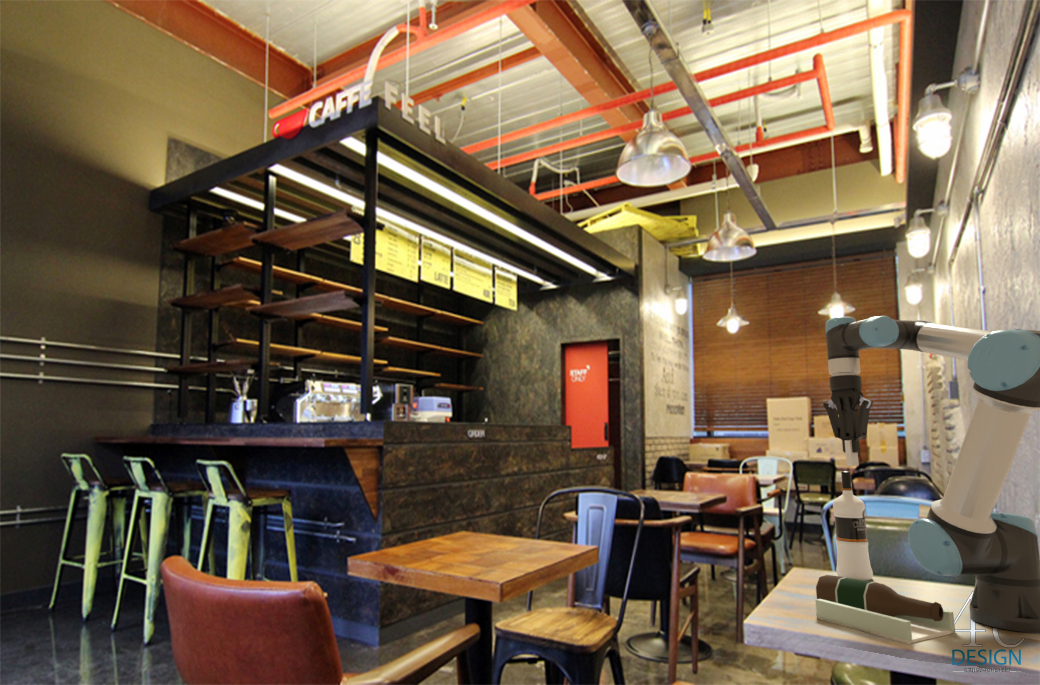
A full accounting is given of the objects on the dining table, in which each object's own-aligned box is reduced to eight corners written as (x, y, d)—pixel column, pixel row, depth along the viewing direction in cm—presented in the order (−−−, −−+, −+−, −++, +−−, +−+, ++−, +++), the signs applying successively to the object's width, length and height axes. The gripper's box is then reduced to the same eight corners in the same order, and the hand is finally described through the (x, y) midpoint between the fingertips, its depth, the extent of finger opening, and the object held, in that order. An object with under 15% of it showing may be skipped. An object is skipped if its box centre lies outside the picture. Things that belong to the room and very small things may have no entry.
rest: (955, 632, 127) (953, 611, 128) (907, 644, 120) (905, 622, 121) (863, 609, 145) (861, 591, 146) (816, 618, 138) (815, 599, 138)
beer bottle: (820, 615, 143) (940, 641, 125) (811, 584, 143) (930, 605, 124) (834, 597, 148) (951, 619, 130) (826, 567, 147) (942, 584, 129)
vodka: (843, 573, 185) (835, 470, 190) (877, 578, 179) (868, 471, 183) (831, 577, 179) (823, 471, 184) (866, 583, 172) (857, 472, 177)
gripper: (877, 373, 162) (886, 466, 159) (832, 378, 174) (839, 464, 170) (858, 372, 159) (867, 466, 155) (814, 377, 170) (821, 465, 167)
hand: (852, 465), depth 163 cm, fingers closed
